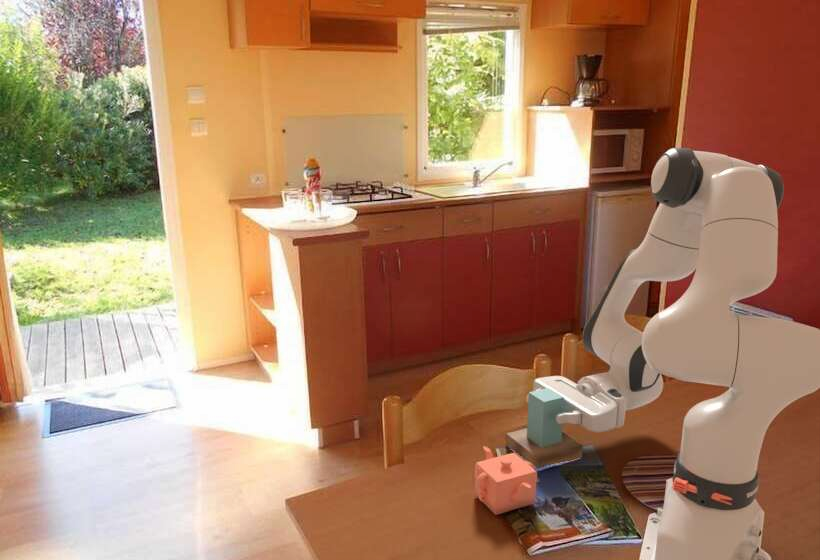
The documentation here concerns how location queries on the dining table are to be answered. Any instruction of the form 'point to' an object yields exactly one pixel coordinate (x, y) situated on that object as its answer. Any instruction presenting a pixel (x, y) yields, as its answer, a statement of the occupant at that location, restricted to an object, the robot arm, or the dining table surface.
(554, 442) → the teal pillar
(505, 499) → the teapot
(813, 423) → the dining table surface
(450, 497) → the dining table surface
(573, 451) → the walnut plinth
